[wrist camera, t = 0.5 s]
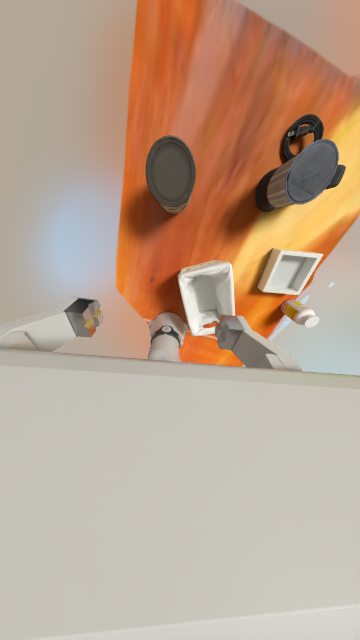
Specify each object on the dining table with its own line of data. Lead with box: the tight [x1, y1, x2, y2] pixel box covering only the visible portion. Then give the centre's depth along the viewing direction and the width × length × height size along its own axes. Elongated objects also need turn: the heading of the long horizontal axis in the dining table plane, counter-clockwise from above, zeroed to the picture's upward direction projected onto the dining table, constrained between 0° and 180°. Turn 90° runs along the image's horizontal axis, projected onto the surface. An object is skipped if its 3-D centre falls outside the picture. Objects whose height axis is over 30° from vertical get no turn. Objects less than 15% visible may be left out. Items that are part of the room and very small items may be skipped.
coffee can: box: [146, 135, 196, 213], centre depth 34 cm, size 10×10×14 cm
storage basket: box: [178, 260, 235, 336], centre depth 50 cm, size 24×16×15 cm
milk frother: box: [255, 114, 346, 212], centre depth 31 cm, size 14×16×15 cm
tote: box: [257, 248, 323, 295], centre depth 49 cm, size 14×14×5 cm
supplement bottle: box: [281, 299, 319, 327], centre depth 54 cm, size 7×7×13 cm
